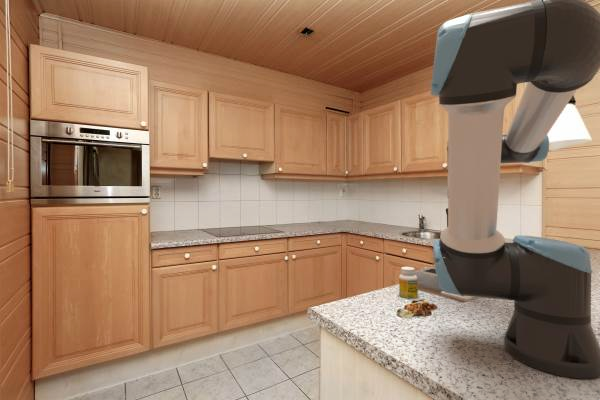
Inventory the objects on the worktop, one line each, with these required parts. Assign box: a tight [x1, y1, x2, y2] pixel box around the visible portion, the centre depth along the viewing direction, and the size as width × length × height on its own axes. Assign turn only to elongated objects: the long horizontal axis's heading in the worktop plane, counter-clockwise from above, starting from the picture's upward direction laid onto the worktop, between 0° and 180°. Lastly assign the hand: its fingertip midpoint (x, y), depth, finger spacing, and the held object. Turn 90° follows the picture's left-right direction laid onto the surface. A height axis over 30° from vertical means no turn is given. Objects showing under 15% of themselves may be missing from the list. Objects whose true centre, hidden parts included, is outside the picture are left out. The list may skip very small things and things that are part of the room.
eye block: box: [414, 266, 443, 293], centre depth 103 cm, size 10×10×5 cm
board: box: [418, 287, 475, 303], centre depth 100 cm, size 16×19×1 cm
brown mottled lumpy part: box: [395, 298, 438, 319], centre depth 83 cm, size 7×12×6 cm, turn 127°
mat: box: [441, 291, 477, 302], centre depth 94 cm, size 10×8×1 cm
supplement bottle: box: [398, 266, 419, 300], centre depth 94 cm, size 5×5×10 cm
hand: (461, 262), depth 94 cm, fingers closed on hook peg, 5 cm apart
